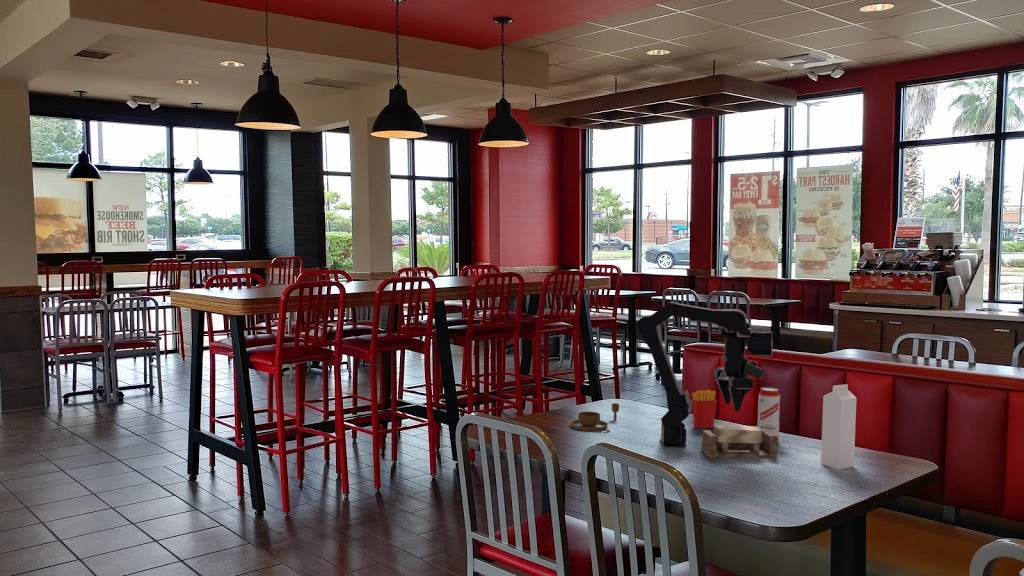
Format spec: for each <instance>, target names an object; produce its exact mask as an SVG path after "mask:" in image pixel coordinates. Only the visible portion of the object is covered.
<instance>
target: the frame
mask: <svg viewBox="0 0 1024 576" xmlns="http://www.w3.org/2000/svg"><path fill="white" fill-rule="evenodd" d="M701 438H702V440H701V441H700V442H701V444H700V445H701V452H702V453H704V455H706V456H707V457H708V458H709V459H745V458H746V459H758V458H759V459H760V458H761V459H771V458H772V459H773V458H774V459H776V458H775V457H777V456H778V455H777V442H776V436H775V435H774V434H772V433H771V432H769V431H768V430H762V442H761V443H725V442H718V441H717V436H716V435H714V433H713V432H712V431H711V430H708V429H703V430H702V437H701ZM777 458H778V457H777Z"/></svg>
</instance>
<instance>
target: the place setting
mask: <svg viewBox="0 0 1024 576" xmlns="http://www.w3.org/2000/svg"><path fill="white" fill-rule="evenodd" d="M611 411H612V412H613V421H617V420H616V419H617V418H618V415H617V413H618V412H619V411H620V404H619V403H616V402H615V403H614V402H613V403H611ZM578 423H580V424H578ZM574 424H576V425H574ZM599 424H600V426H599V427H598V425H599ZM578 425H581V426H578ZM602 425H604V426H602ZM608 426H609V424H608V422H606V421H605V420H604V421H603V420H601V413H599V412H596V411H581V412H578V419H575V420H572V421H570V427H571V428H573V429H574V428H575V429H574V430H577V429H579V430H578V431H582V430H585V432H598V431H597V430H601V431H607V433H609V432H611V431H610V429H607V428H608Z"/></svg>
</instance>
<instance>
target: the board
mask: <svg viewBox="0 0 1024 576" xmlns="http://www.w3.org/2000/svg"><path fill="white" fill-rule="evenodd" d="M757 426H758V425H756V426H755V425H754V426H753V425H714V433H713V434H714V435H716V436H717V441H718V442H725V443H761V442H762V430H761V429H759V428H758V427H757Z"/></svg>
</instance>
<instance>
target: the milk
mask: <svg viewBox="0 0 1024 576" xmlns="http://www.w3.org/2000/svg"><path fill="white" fill-rule="evenodd" d="M848 386H849V385H848V384H847V383H846V384H845V383H844V384H838V385H833V386H832V391H831V392H828V393H826V394H824V395H823V398H822V421H821V422H822V424H821V447H820V448H821V449H820V451H821V452H820V465H822V466H825V465H826V466H825V467H828V466H829V468H832V469H835V468H836V469H835V470H838V469H839V470H840V469H841V470H845V468H846V469H849V468H854V466H855V448H856V446H855V442H856V423H857V422H856V421H857V419H856V418H857V417H856V416H857V397H856V396H855V395H854V394H853V393H852V392H851V391H850V390H849V389H848ZM841 470H840V471H841Z"/></svg>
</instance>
